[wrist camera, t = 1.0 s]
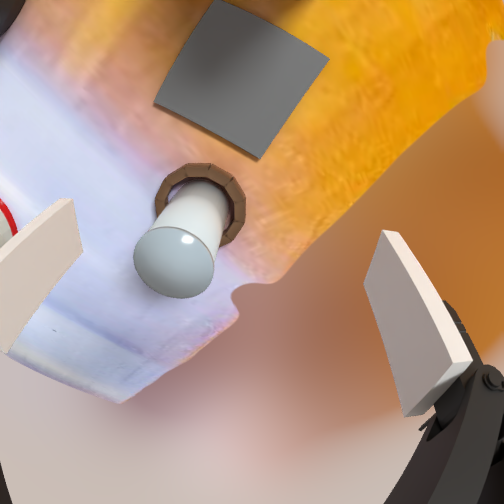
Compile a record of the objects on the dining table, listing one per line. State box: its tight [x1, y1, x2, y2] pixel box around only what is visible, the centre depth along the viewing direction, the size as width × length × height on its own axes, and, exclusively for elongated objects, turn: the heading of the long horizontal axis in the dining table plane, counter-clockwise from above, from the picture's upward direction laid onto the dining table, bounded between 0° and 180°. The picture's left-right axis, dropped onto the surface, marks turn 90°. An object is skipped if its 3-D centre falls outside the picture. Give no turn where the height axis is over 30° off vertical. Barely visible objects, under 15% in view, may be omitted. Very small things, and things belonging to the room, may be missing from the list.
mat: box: [154, 0, 330, 159], centre depth 27 cm, size 14×14×1 cm
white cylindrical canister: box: [133, 179, 229, 299], centre depth 32 cm, size 11×7×13 cm, turn 149°
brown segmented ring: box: [155, 163, 246, 247], centre depth 36 cm, size 11×11×2 cm
